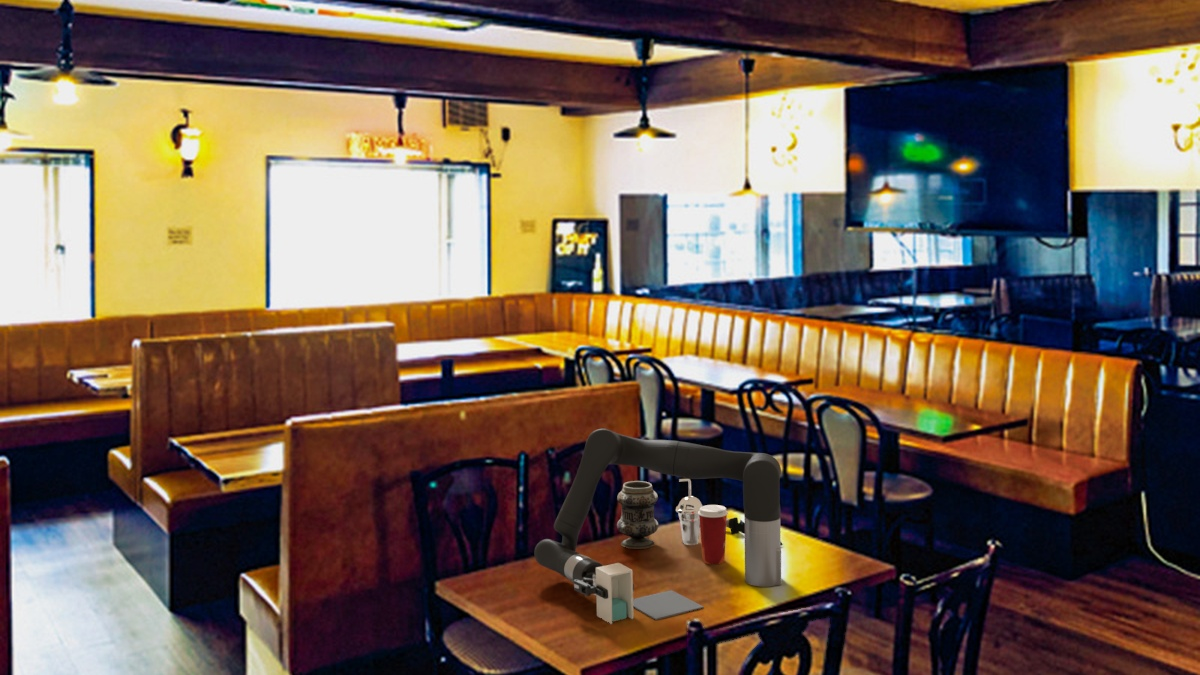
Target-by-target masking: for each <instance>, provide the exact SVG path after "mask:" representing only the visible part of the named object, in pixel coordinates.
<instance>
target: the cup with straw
mask: <svg viewBox="0 0 1200 675" xmlns="http://www.w3.org/2000/svg"><path fill="white" fill-rule="evenodd" d="M677 482H688V496H685V497H682V498H681V500H680V501H679V503H678V505H677V506H676V507H675V512H676V513H678V518H679V522H680V530H681V538H682V544H683V543H684V544H683V545H687V546H695V545H698V544H699V540H700V533H701V532H700V518H699V514H698V512H699V510H700V508H701V507H702V506H703V504H702V502H701V501H700V499H699V498H697V497H695V496H694V495H692V481H691V479H690V478H678V479H677Z"/></svg>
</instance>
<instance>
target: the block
mask: <svg viewBox="0 0 1200 675" xmlns="http://www.w3.org/2000/svg"><path fill="white" fill-rule="evenodd" d="M627 617H628V616H627V615H626V602H625V601H623V600H621V599H619V598H613V599H612V621H613V622H616V621H615V620H617V621H620V619H621V620H624V619H627Z"/></svg>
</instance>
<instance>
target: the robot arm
mask: <svg viewBox="0 0 1200 675" xmlns="http://www.w3.org/2000/svg"><path fill="white" fill-rule="evenodd" d="M579 463H580V464H579V466H578V469H577V471H576V475H575V478H574V479H573V482H572V484H571V487H570V489H569V491H568V493H567V495H566V497H565V499H564V502H563V503H562V506H561V508H560V510H559V512H558V514H557V517H556V518H555V521H554V524H553V528H554V530H555V531H556V532H557V533H559V534H560V535H561V536H562V537H561V538H562V540H561V542H558V541H555V540H553V539H550V538H545V539H542V540H540V541H539V542H538V543H537V544H536V545H535V547H534V551H533V553H534V554H533V555H534V559H535V561H536V562H537V563H538V564H539V566H542V567H543V568H546V569H549V570H551V571H554V572H556V573H557V574H559V575H561V576H562V577H564V578H566V579H567V580H569V582H571V583H572V584H573V588H574V591H575V592H577V593H580V594H581V595H584V596H586V597H590V596H591V595H593V596H596V595H598V596H600V597H602V598H604V599H607V598H608V590H607V589H605V588H604V587H602V586H598V584H597V583H596V567H601V566H604V565H603V564H602V563H601V562H599V561H597V560H595V559H593V558H590V557H589V556H587V555H584V554H581V553H579V552H577V546H578V545H577V544H578V539H579V536H580V532H581V529H582V527H583V525H584V522H585V520H586V518H587V517H588V514H589V511H590V509H591V505H592V503H593V499H594V495H595V492H596V489H597V486H598V484H599V482H600V480H601V477H602V475H603V474H604V473H605V471H606V469H607V467H608V466H609V465H616V466H617V465H618V466H620V465H621V466H632V467H639V468H643V469H646V470H649V471H652V472H656V473H659V474H664V475H668V476H673V477H677V478H682V479H690V480H691V479H692V480H703V479H731V480H737V481H740V482H742V494H743V497H742V498H743V511H744V513H743V514H744V515H743V516H744V523H745V534H744V581H745V583H747V584H748V585H750V586H753V587H763V588H764V587H765V588H766V587H775V586H781V585H782V548H781V546H782V545H781V546H780V541H781V504H780V503H781V500H780V498H781V496H780V485H781V484H780V482H781V481H780V480H781V475H782V467H781V465H780V462H779V461H778V460H777V459H776V457H774V456H773V455H771V454H768V453H764V452H748V451H747V452H745V451H744V452H743V451H732V450H726V449H721V448H717V447H713V446H708V445H707V446H706V445H701V444H696V443H691V442H686V441H679V440H671V439H668V440H667V439H642V438H636V437H632V436H629V435H625V434H624V435H623V434H621V433H618V432H615V431H612V430H610V429H607V428H599V429H595V430H593V431H592V432H590V434H589V435H588V437H587V439H586V442H585V446H584V449H583V452H582V457H581V460H580V462H579ZM634 586H635V585H634V583H633V591H635V587H634Z"/></svg>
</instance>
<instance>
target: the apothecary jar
mask: <svg viewBox="0 0 1200 675" xmlns="http://www.w3.org/2000/svg"><path fill="white" fill-rule="evenodd" d="M658 499H659V497H658V493H657V492H656V491H655V490H654V489H653V485H652V483H650V482H649V481H648V482H647V481H641V480H634V481H633V480H630V481H627V482H624V483H623V485H622V489H621V491H620V492H618V494H617V498H616V500H617V502H618V503H619V504H620V505H621V515H620V519H619V520H618V521H617V523H616V528H617V530H618V531H619V533H621V534H622V535H624V536H626V537H627V536H628V538H626V539H624V540H622V541H621V542H620V545H621V547H623V548H625V547H626V548H625V549H629V550H643V549H644V550H645V549H650V548H652V547H654V546H655V545H656V543H655V541H654V540H653V539H650V538H648V537H649V536H652V535H653V534H655V533H656V532H657V531H658V528H659V522H658V521H657V519H655V504H657V502H658Z"/></svg>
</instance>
